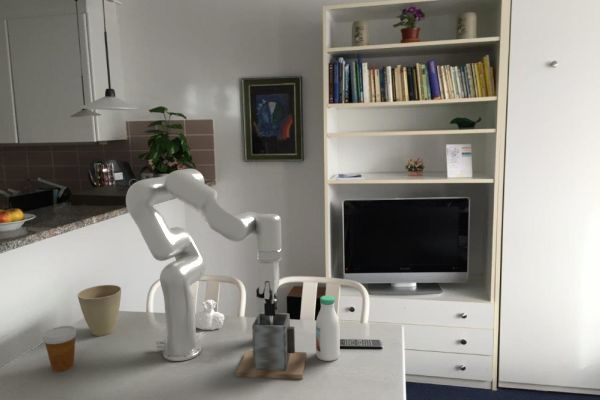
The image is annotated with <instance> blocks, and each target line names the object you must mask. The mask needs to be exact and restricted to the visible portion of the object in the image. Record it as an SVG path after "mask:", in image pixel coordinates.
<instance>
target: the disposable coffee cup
mask: <svg viewBox="0 0 600 400" xmlns="http://www.w3.org/2000/svg"><path fill="white" fill-rule="evenodd" d="M77 334H78V333H77V330H76V329H75V327H74V326H71V325H61V326H57V327H53V328H51V329H47V330H46V331H45V332H44V333H43V336H42V341H43V342H44V343H45V344H44V345H45V348H46V352H47V356H48V359H49V363H50V367H51V370H52V371H53V372H54V373H59V372H61V373H62V372H66V371H68V370H70V369H72V368H73V367H74V366H75V350H76V349H75V348H76V335H77Z"/></svg>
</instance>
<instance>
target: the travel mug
mask: <svg viewBox="0 0 600 400" xmlns="http://www.w3.org/2000/svg"><path fill="white" fill-rule="evenodd" d="M255 291H256V292H255V293H256V295H255V297H256V316H257V315H258V313H265V312H264V292H263V294H260V293H259V286H258V287H257V288H256V290H255Z"/></svg>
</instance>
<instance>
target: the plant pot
mask: <svg viewBox="0 0 600 400" xmlns="http://www.w3.org/2000/svg"><path fill="white" fill-rule="evenodd" d="M77 298H78V302H79V306H80V310H81V313H82V314H83V317H84V321H85V322H86V324H87V327H88V328H89V330H90V332H91V334H92V335H93V336H96V337H104V336H108V335H109V334H112V333H113V332H114V331H115V328H116V325H117V321H118V317H119V311H120V307H121V299H122V287H121V286H119V285H115V284H102V285H94V286H90V287H87V288H85V289H82V290H80V291H79V292H78V293H77Z"/></svg>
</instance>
